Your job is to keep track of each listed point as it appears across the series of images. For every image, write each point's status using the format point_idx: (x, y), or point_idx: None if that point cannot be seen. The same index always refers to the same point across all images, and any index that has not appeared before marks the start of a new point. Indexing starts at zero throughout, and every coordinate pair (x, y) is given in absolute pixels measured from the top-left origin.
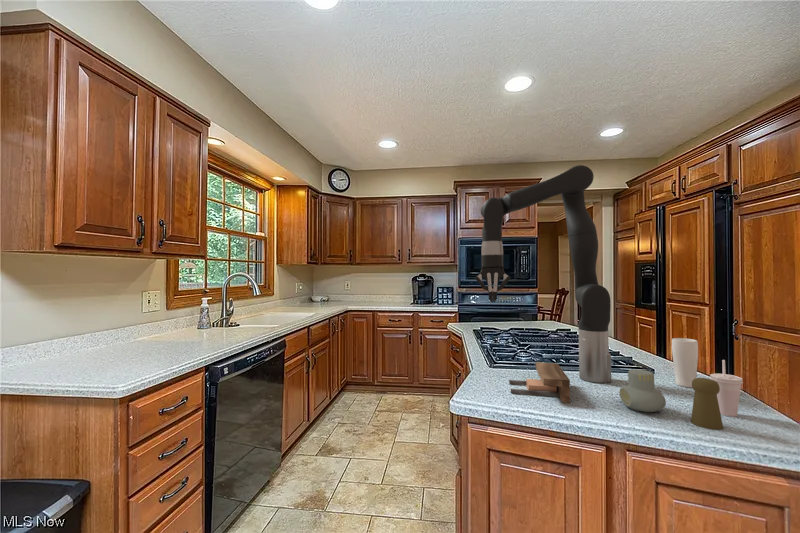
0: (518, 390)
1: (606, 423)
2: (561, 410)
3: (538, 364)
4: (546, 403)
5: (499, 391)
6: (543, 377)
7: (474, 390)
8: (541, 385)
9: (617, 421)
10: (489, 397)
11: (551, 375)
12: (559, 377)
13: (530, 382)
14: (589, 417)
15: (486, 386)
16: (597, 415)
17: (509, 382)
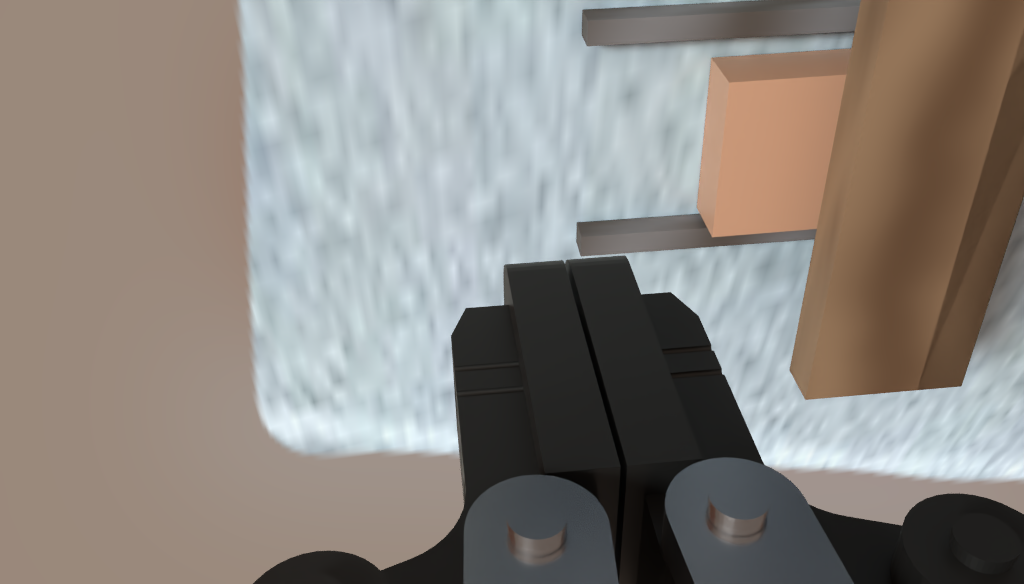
0: (631, 252)
1: (945, 475)
2: (808, 404)
3: (902, 15)
4: (761, 338)
5: (500, 222)
6: (812, 379)
7: (325, 250)
8: (801, 217)
9: (1005, 446)
10: (440, 342)
11: (884, 323)
12: (920, 350)
13: (740, 170)
14: (905, 441)
15: (400, 140)
16: (954, 411)
17: (585, 39)
